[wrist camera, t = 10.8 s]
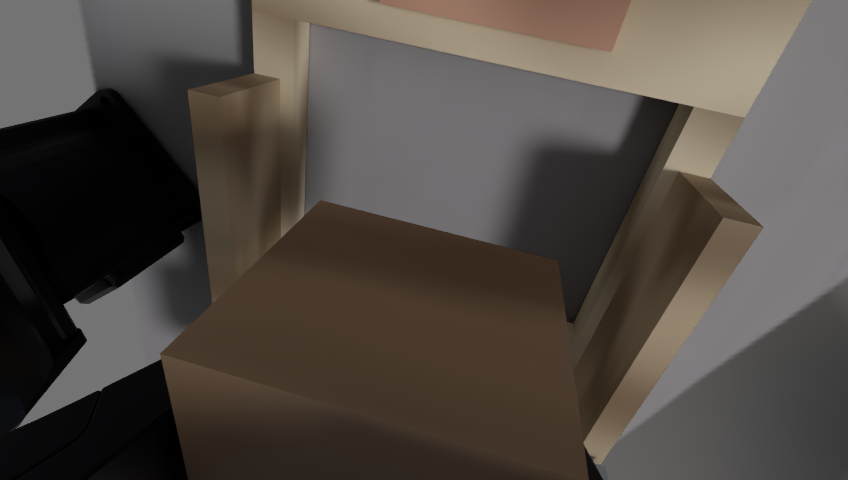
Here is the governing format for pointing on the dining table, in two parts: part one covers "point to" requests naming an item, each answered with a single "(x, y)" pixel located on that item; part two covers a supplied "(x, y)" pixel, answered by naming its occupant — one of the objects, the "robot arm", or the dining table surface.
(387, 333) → the walnut block
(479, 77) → the dining table surface
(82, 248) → the robot arm
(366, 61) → the dining table surface
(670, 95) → the puzzle board
